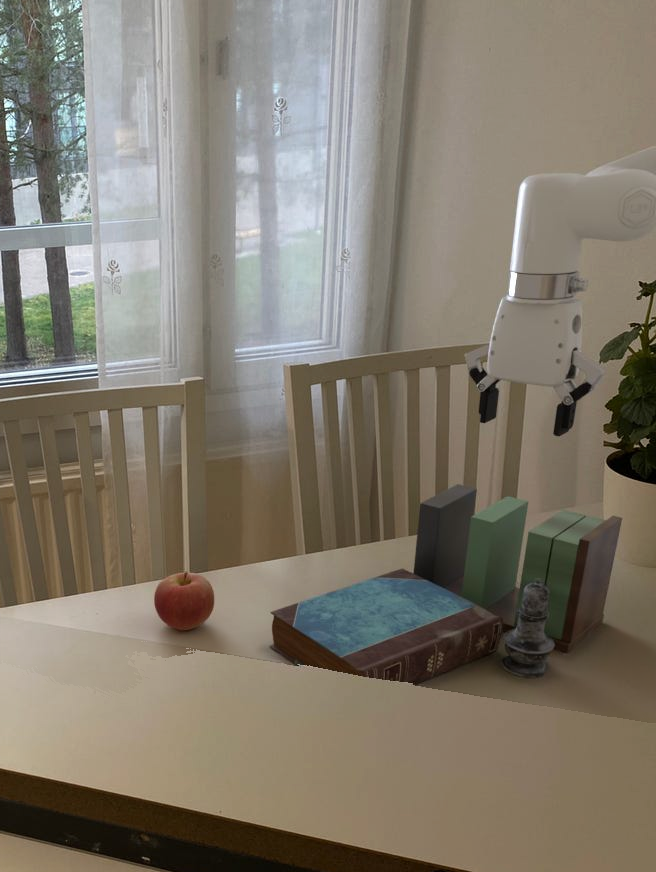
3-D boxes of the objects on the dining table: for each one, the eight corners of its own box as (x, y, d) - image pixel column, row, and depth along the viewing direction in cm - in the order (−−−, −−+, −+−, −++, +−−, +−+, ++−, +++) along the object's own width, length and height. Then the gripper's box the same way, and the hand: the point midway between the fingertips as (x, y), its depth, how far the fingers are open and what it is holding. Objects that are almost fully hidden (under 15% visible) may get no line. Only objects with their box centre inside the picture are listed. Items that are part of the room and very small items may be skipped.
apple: (225, 631, 120) (225, 577, 117) (169, 644, 118) (167, 588, 114) (200, 606, 127) (199, 554, 124) (147, 617, 124) (145, 564, 121)
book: (362, 709, 103) (365, 672, 101) (267, 645, 117) (268, 611, 115) (499, 652, 114) (504, 617, 112) (398, 599, 127) (400, 567, 125)
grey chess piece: (528, 650, 114) (543, 563, 109) (560, 673, 109) (577, 583, 104) (488, 658, 112) (501, 571, 107) (519, 682, 107) (534, 591, 102)
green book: (495, 582, 129) (507, 496, 124) (515, 588, 127) (528, 501, 122) (459, 606, 123) (471, 516, 117) (480, 613, 121) (492, 522, 115)
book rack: (439, 570, 136) (450, 475, 129) (602, 622, 120) (624, 516, 114) (399, 595, 129) (408, 495, 122) (567, 653, 113) (587, 542, 107)
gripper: (628, 287, 105) (604, 432, 112) (488, 278, 116) (474, 410, 123) (602, 296, 100) (579, 446, 107) (458, 286, 111) (446, 422, 119)
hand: (523, 427), depth 115 cm, fingers open, 9 cm apart
